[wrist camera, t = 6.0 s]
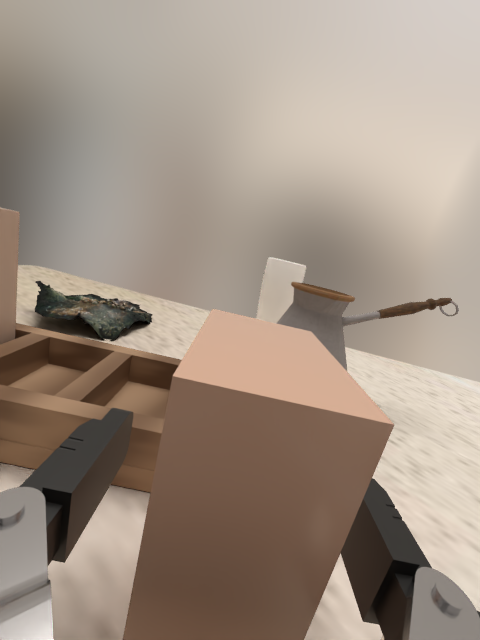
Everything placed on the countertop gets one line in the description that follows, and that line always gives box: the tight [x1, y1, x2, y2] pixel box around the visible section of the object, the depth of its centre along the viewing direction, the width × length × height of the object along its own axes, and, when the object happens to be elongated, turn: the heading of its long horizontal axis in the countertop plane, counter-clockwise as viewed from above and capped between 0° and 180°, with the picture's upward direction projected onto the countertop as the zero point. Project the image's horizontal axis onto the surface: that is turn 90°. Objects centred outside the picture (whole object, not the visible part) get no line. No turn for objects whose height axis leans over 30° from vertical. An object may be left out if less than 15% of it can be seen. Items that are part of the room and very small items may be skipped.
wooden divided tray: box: [0, 323, 182, 492], centre depth 19 cm, size 22×10×4 cm, turn 89°
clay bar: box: [123, 309, 394, 640], centre depth 9 cm, size 4×6×12 cm, turn 179°
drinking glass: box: [256, 257, 306, 323], centre depth 47 cm, size 7×7×15 cm
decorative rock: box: [35, 281, 152, 341], centre depth 42 cm, size 19×6×15 cm
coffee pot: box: [276, 282, 459, 371], centre depth 29 cm, size 21×12×15 cm, turn 98°
